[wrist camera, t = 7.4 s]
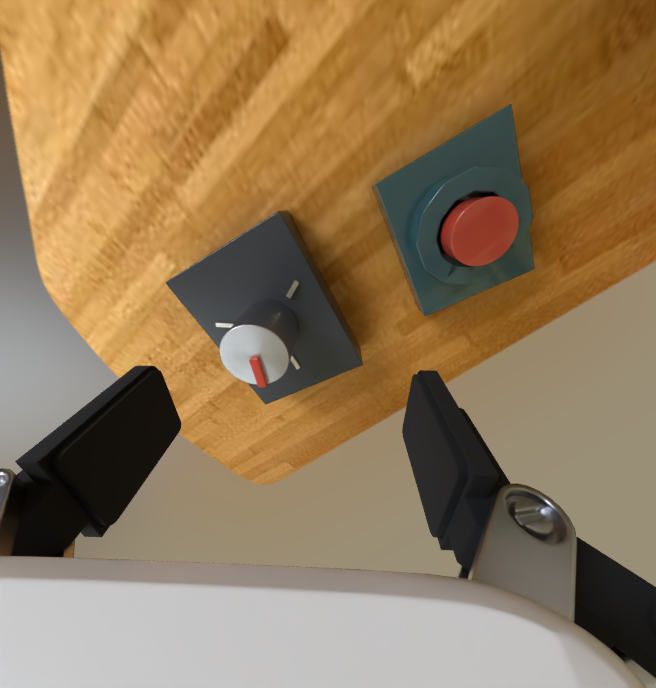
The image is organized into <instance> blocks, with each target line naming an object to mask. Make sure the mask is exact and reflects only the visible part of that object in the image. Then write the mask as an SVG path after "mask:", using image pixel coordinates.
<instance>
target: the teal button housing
mask: <svg viewBox="0 0 656 688" xmlns="http://www.w3.org/2000/svg"><path fill="white" fill-rule="evenodd" d="M372 189H373V192H374V195H375V197H376V200H377V202H378V205H379V208H380V210H381V213H382V216H383V218H384V221H385V224H386V226H387V229H388V232H389V234H390V237H391V239H392V242H393V245H394V247H395V250H396V253H397V255H398V258H399V261H400V263H401V266H402V269H403V271H404V274H405V276H406V279H407V282H408V284H409V287H410V290H411V292H412V295H413V298H414V300H415V303H416V306H417V307H418V309H419V310H420V311H421V312H422V314H423V315H424V316H427V315H429V314H431V313H434V312H436V311H438V310H441V309H443V308H445V307H448V306H450V305H452V304H455V303H457V302H459V301H462V300H464V299H466V298H469V297H471V296H473V295H476V294H478V293H480V292H483V291H485V290H487V289H490V288H492V287H494V286H497V285H499V284H501V283H503V282H506V281H508V280H510V279H513V278H515V277H517V276H520V275H522V274H524V273H527V272H529V271H531V270H534V269H535V267H534V260H533V253H532V246H531V239H530V232H529V227H530V224H531V222H532V218H533V215H532V208H531V200H530V193H529V188H528V186H527V185H526V184H525V183H524V182H523V181H522V175H521V168H520V161H519V154H518V147H517V140H516V133H515V126H514V119H513V112H512V105H511V104H510V105H508V106H506V107H505V108H503V109H501V110H500V111H498V112H496V113H494V114H493V115H491V116H489V117H488V118H486V119H484V120H483V121H481V122H479V123H478V124H476V125H474V126H472V127H471V128H469V129H467V130H466V131H464V132H462V133H461V134H459V135H457V136H456V137H454V138H452V139H451V140H449V141H447V142H445V143H444V144H442V145H440V146H439V147H437V148H435V149H434V150H432V151H430V152H429V153H427V154H425V155H424V156H422V157H420V158H418V159H417V160H415V161H413V162H412V163H410V164H408V165H407V166H405V167H403V168H402V169H400V170H398V171H396V172H395V173H393V174H391V175H390V176H388V177H386V178H385V179H383V180H381V181H380V182H378V183H376V184H375V185H373V186H372ZM489 196H497V197H502V198H505V199H507V200H508V201H510V202H511V203H512V204H513V205H514V207H515V208H516V210H517V213H518V217H519V226H518V231H517V235H516V237H515V239H514V241H513V243H512V245H511V246H510V248H509V249H508V250H507V251H506V252H505V253H504V254H503V255H502V256H501V257H499V258H498V259H497V260H495V261H493V262H491V263H489V264H486V265H483V266H468V265H465V264H463V263H461V262H458V261H456V260H454V259H452V258H450V257H449V256H448V255H447V254H446V253H445V252H444V250H443V248H442V245H441V229H442V226H443V224H444V221H445V219H446V218H447V216H448V215H449V213H450V212H451V211H452V210H453V209H454V208H455V207H456V206H457V205H459V204H460V203H462V202H463V201H465V200H468V199H471V198H476V197H489Z"/></svg>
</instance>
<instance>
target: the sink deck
mask: <svg viewBox="0 0 656 688" xmlns="http://www.w3.org/2000/svg"><path fill="white" fill-rule="evenodd" d="M166 284H167V285H168V287H169V288H170V289H171V290H172V291H173V293H174V294H175V295H176V296H177V297H178V299H179V300H180V301H181V302H182V304H183V305H184V306H185V307H186V308H187V310H188V311H189V312H190V313H191V314H192V316H193V317H194V318H195V319H196V321H197V322H198V323H199V324H200V325H201V327H202V328H203V329H204V330H205V331H206V333H207V334H208V335H209V336H210V338H211V339H212V340H213V341H214V342H215V344H216V345H217V346H218V347H219V348H220V343H221V340H222V338H223V337H224V335H225V334H226V333H227V332H228V330H229V329H230V328H231V327H232V326H233V325H234V324H235V323H236V321H237V320H238V319H239V318H240V317H241V316H242V315H243V313H244V312H245V311H246V310H247V309H248V308H249V307H250V306H251V305H253V304H255V303H257V302H259V301H275V302H278V303H281V304H283V305H284V306H286V307H287V308H288V309H290V310H291V311H292V313H293V314H294V316H295V317H296V319H297V322H298V326H299V332H298V337H297V340H296V343H295V346H294V350H293V353H292V356H291V359H290V363H289V366H288V369H287V371H286V372H285V374H284V375H283V376H282V377H281V378H279V379H278V380H276V381H274V382H272V383H269V384H267V386H266V387H258V385H257V384H250V383H248V384H249V385H250V386H251V387H252V389H253V390H254V391H255V392H256V393H257V395H258V396H259V397H260V398H261V400H262V401H263V402H264V403H265V404H268V403H270V402H273V401H275V400H278V399H280V398H283V397H285V396H288V395H290V394H293V393H295V392H298V391H300V390H302V389H305V388H307V387H310V386H312V385H315V384H317V383H320V382H322V381H325V380H327V379H329V378H332V377H334V376H337V375H339V374H342V373H344V372H347V371H349V370H352V369H354V368H356V367H359V366H361V365H363V362H362V356H361V350H360V346H359V344H358V343H357V341H356V339H355V337H354V335H353V333H352V331H351V329H350V327H349V326H348V324H347V322H346V320H345V318H344V316H343V314H342V312H341V310H340V309H339V307H338V305H337V303H336V301H335V299H334V297H333V295H332V293H331V291H330V290H329V288H328V286H327V284H326V282H325V280H324V278H323V276H322V274H321V273H320V271H319V269H318V267H317V265H316V263H315V261H314V259H313V257H312V256H311V254H310V252H309V250H308V248H307V246H306V244H305V242H304V240H303V239H302V237H301V235H300V233H299V231H298V229H297V227H296V225H295V223H294V221H293V220H292V218H291V216H290V214H289V212H288V211H278V212H276V213H275V214H273V215H272V216H270V217H268V218H267V219H265V220H264V221H262V222H261V223H259V224H257V225H256V226H254V227H253V228H251V229H249V230H248V231H246V232H245V233H243V234H241V235H240V236H238V237H237V238H235V239H233V240H232V241H230V242H229V243H227V244H225V245H224V246H222V247H221V248H219V249H217V250H216V251H214V252H213V253H211V254H210V255H208V256H206V257H205V258H203V259H202V260H200V261H198V262H197V263H195V264H194V265H192V266H190V267H189V268H187V269H186V270H184V271H182V272H181V273H179V274H178V275H176V276H174V277H173V278H171V279H170V280H168V281H166Z"/></svg>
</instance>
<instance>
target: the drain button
mask: <svg viewBox="0 0 656 688" xmlns="http://www.w3.org/2000/svg"><path fill="white" fill-rule="evenodd" d="M518 226H519V217H518V213H517V210H516V208H515V207H514V205H513V204H512V203H511V202H510V201H508V200H507V199H505V198H502V197H497V196H489V197H476V198H471V199H468V200H465V201H463V202H462V203H460V204H459V205H457V206H456V207H455V208H454V209H453V210H452V211H451V212H450V213H449V215H448V216H447V218H446V219H445V221H444V224H443V226H442V229H441V245H442V248H443V250H444V252H445V253H446V254H447V255H448V256H449V257H450V258H452V259H454V260H456V261H458V262H461V263H463V264H465V265H468V266H483V265H486V264H489V263H491V262H493V261H495V260H497V259H498V258H499V257H501V256H502V255H503V254H504V253H505V252H506V251H507V250H508V249H509V248H510V246H511V245H512V243H513V241H514V239H515V237H516V235H517V231H518Z"/></svg>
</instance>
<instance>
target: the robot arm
mask: <svg viewBox="0 0 656 688" xmlns="http://www.w3.org/2000/svg"><path fill="white" fill-rule="evenodd" d="M180 429H181V421H180V418H179V416H178V413H177V411H176V408H175V406H174V403H173V400H172V398H171V395H170V393H169V390H168V388H167V385H166V382H165V380H164V377H163V375H162V373H161V371H159V370H158V369H157V368H156V367H154V366H135V367H134V368H132V369H131V370H130V371H128V372H127V373H126V374H125V375H123V376H122V377H121V378H120V379H118V380H117V381H116V382H115V383H113V384H112V385H111V386H110V387H108V388H107V389H106V390H105V391H103V392H102V393H101V394H100V395H98V396H97V397H96V398H95V399H93V400H92V401H91V402H89V403H88V404H87V405H86V406H85V407H83V408H82V409H81V410H80V411H78V412H77V413H76V414H74V415H73V416H72V417H71V418H70V419H68V420H67V421H66V422H64V423H63V424H62V425H61V426H59V427H58V428H57V429H56V430H54V431H53V432H52V433H51V434H49V435H48V436H47V437H45V438H44V439H43V440H42V441H40V442H39V443H38V444H37V445H35V446H34V447H33V448H32V449H30V450H29V451H28V452H27V453H25V454H24V455H23V456H22V457H20V458H19V459H18V460H17V461H16V463H17V464H18V465H19V466H20V467H21V468H22V469H23V470H22V471H21V472H20V473H18V474H17V475H15V473H14V472H13V471H11V470H10V469H3V468H2V469H0V688H656V587H655V586H653V585H651V584H650V583H648V582H647V581H645V580H644V579H642V578H641V577H639V576H637V575H636V574H634V573H633V572H631V571H630V570H628V569H626V568H625V567H623V566H622V565H620V564H619V563H617V562H616V561H614V560H612V559H611V558H609V557H608V556H606V555H605V554H603V553H601V552H600V551H598V550H597V549H595V548H594V547H592V546H590V545H589V544H587V543H586V542H584V541H582V540H581V539H580V538H578V537H576V531H575V528H574V526H573V524H572V522H571V520H570V518H569V517H568V516H567V514H566V513H565V512H564V511H563V510H562V508H561V507H560V506H559V505H557V504H556V503H555V502H554V501H553V500H552V499H551V498H549V497H548V496H546V495H545V494H543V493H542V492H540V491H538V490H536V489H534V488H531V487H529V486H526V485H522V484H510V482H509V480H508V479H507V477H506V476H505V474H504V472H503V471H502V469H501V468H500V466H499V465H498V463H497V461H496V460H495V458H494V456H493V455H492V453H491V452H490V450H489V448H488V447H487V445H486V443H485V442H484V441H483V439H482V437H481V435H480V434H479V432H478V431H477V429H476V427H475V426H474V424H473V423H472V421H471V419H470V418H469V416H468V415H467V413H466V412H465V411H464V410H463V409H461V408H459V407H458V406H457V404H456V402H455V401H454V399H453V397H452V396H451V394H450V392H449V391H448V389H447V387H446V386H445V384H444V382H443V380H442V379H441V377H440V375H439V374H438V372H437V371H424V370H420V371H419V372H418V374H414V375H413V377H412V382H411V387H410V392H409V397H408V402H407V407H406V413H405V418H404V423H403V438H404V442H405V445H406V449H407V452H408V456H409V459H410V463H411V466H412V470H413V473H414V477H415V480H416V484H417V487H418V491H419V494H420V498H421V501H422V505H423V508H424V512H425V515H426V519H427V523H428V526H429V529H430V533H431V534H432V536H433V537H437V538H438V541H439V544H440V548H441V550H453V551H454V554H455V557H456V560H457V562H458V563H459V564H460V565H461V566H460V569H459V571H458V574H457V577H447V576H440V575H431V574H420V573H405V572H389V571H375V570H360V569H337V568H316V567H294V566H272V565H271V566H270V565H249V564H224V563H201V562H175V561H173V562H172V561H150V560H123V559H120V560H119V559H94V558H74V547H75V538H76V537H77V536H78V535H79V533H80V532H81V533H82V534H83V535H84V536H85V537H87V536H88V537H102V536H103V534H104V533H105V532H106V531H107V529H108V528H109V526H110V525H112V524H114V523H115V522H116V521H117V520H118V519H119V517H120V516H121V514H122V513H123V511H124V510H125V508H126V507H127V506H128V504H129V503H130V501H131V500H132V498H133V497H134V496H135V494H136V493H137V491H138V490H139V489H140V487H141V486H142V484H143V483H144V481H145V480H146V478H147V477H148V475H149V474H150V473H151V471H152V470H153V468H154V467H155V466H156V464H157V463H158V461H159V460H160V458H161V457H162V456H163V454H164V453H165V451H166V450H167V448H168V447H169V446H170V444H171V443H172V441H173V440H174V438H175V437H176V435H177V434H178V433H179V431H180Z"/></svg>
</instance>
